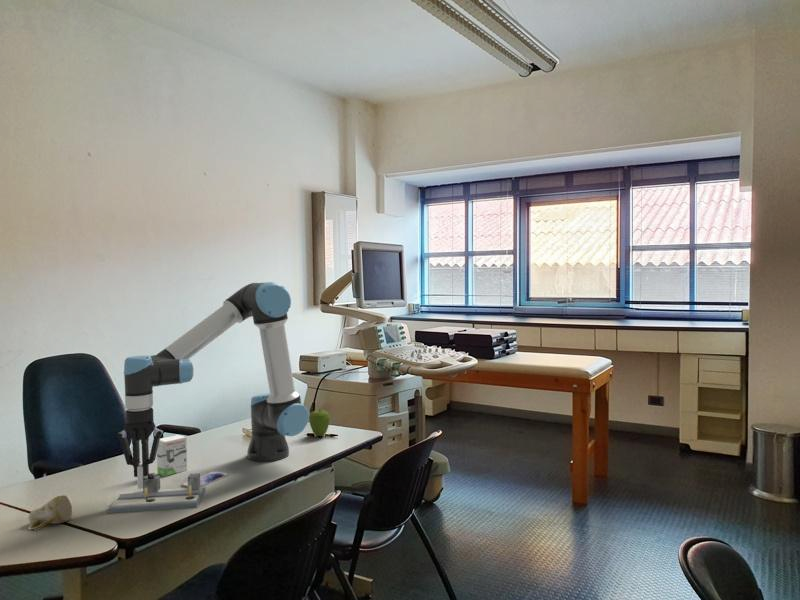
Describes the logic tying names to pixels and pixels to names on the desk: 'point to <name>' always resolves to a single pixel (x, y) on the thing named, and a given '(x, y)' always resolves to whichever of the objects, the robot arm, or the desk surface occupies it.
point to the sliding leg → (151, 484)
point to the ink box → (172, 455)
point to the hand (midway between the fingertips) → (141, 487)
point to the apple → (319, 422)
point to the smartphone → (208, 478)
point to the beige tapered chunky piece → (51, 512)
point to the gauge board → (161, 498)
